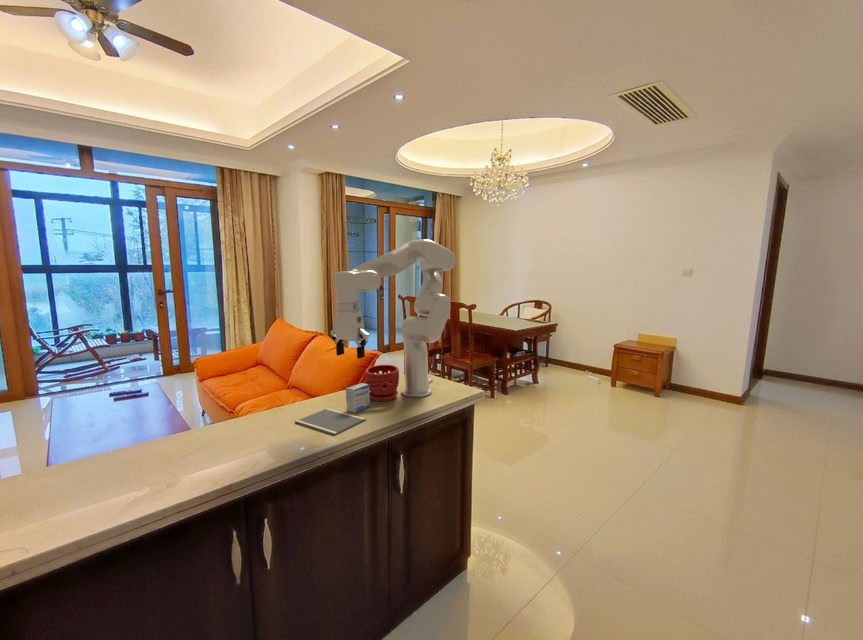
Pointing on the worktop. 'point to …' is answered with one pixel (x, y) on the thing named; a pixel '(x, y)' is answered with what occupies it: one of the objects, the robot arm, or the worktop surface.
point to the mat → (330, 421)
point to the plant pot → (382, 382)
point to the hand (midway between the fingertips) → (350, 356)
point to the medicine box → (357, 397)
